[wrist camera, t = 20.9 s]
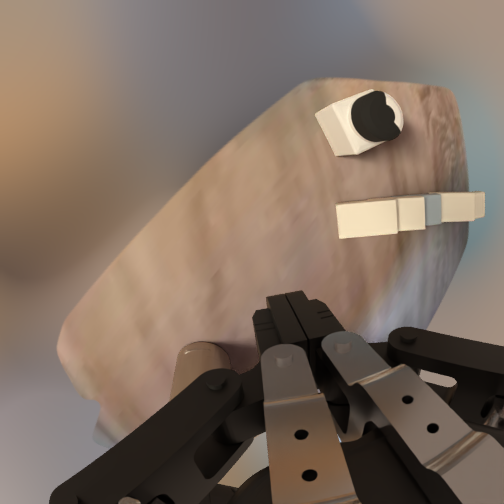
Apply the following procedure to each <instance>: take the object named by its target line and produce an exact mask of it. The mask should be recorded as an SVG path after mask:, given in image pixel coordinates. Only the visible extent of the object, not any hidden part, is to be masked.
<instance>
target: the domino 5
mask: <svg viewBox="0 0 504 504" xmlns="http://www.w3.org/2000/svg"><path fill="white" fill-rule="evenodd" d="M473 193H475V219H476V218H481V217H484V216H485V192H481V191H475V192H473ZM457 222H461V221H457Z"/></svg>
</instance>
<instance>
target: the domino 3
mask: <svg viewBox="0 0 504 504" xmlns="http://www.w3.org/2000/svg"><path fill="white" fill-rule="evenodd" d="M404 196H423V197H424V204H425V226H427V225H437V224H441V194H437V193H431V194H415V195H401V196H391V197H404Z"/></svg>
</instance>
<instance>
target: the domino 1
mask: <svg viewBox="0 0 504 504" xmlns="http://www.w3.org/2000/svg"><path fill="white" fill-rule="evenodd" d="M336 212H337V221H338V232H339V239H341V238H352V237H363V236H374V235H385V234H397V211H396V200H395V199H394V198H387V199H375V200H363V201H352V202H341V203H336Z"/></svg>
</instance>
